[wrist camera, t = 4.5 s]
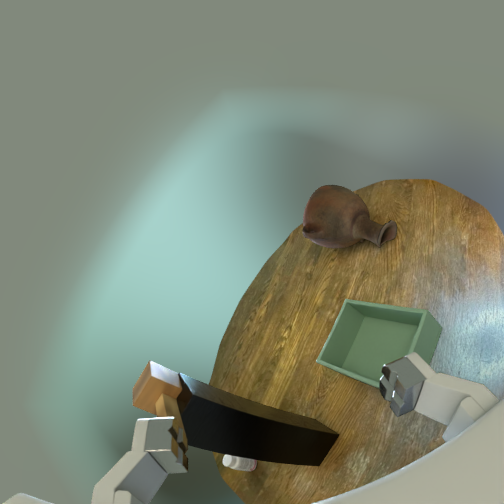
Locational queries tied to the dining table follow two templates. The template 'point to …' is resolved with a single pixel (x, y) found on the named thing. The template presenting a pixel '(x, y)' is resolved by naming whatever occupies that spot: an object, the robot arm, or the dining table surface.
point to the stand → (249, 427)
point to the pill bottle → (239, 463)
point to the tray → (377, 339)
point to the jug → (342, 219)
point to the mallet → (158, 392)
